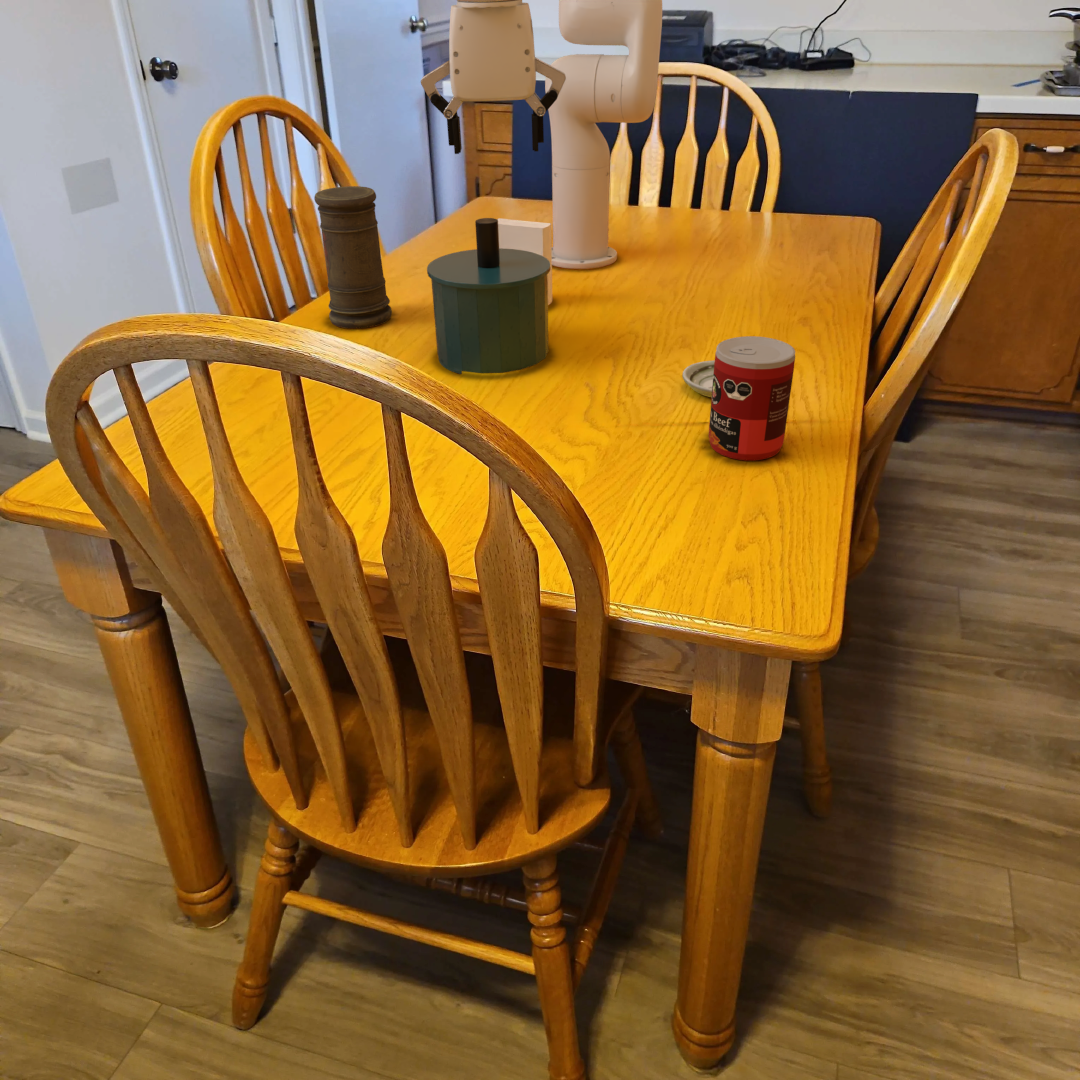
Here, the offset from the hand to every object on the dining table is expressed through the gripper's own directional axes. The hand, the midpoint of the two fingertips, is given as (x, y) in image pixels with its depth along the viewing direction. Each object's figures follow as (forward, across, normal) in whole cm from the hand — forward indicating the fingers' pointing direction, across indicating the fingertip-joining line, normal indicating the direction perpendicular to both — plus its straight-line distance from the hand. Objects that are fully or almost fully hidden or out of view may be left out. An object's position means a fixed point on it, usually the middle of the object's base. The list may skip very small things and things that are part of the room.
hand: (496, 150), depth 115 cm
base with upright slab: (+25, -2, -15) cm, 29 cm away
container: (+25, +22, -10) cm, 34 cm away
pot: (+24, +2, +6) cm, 25 cm away
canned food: (+24, -26, +34) cm, 50 cm away
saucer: (+25, -26, +20) cm, 41 cm away
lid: (+13, +2, +6) cm, 14 cm away
